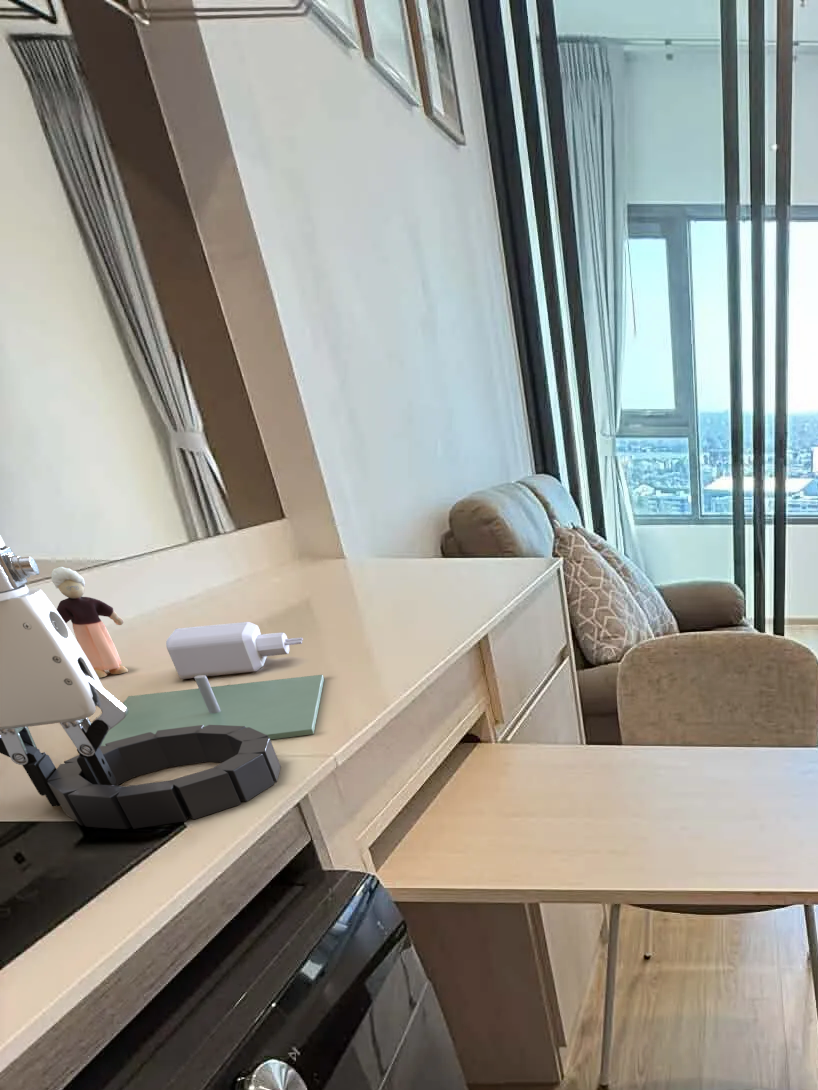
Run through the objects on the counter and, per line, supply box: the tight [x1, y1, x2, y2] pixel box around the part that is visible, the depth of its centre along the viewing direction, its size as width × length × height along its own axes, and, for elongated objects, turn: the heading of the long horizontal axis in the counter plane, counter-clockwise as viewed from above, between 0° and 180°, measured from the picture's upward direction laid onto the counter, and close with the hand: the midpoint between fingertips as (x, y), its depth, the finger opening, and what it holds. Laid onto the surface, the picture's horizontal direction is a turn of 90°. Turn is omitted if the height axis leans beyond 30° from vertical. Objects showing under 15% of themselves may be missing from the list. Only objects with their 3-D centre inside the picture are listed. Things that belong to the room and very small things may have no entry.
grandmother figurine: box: [50, 566, 129, 679], centre depth 108 cm, size 8×4×13 cm, turn 148°
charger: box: [165, 621, 304, 680], centre depth 112 cm, size 5×9×15 cm
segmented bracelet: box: [48, 725, 282, 830], centre depth 80 cm, size 18×18×3 cm
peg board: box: [100, 674, 325, 746], centre depth 96 cm, size 22×22×4 cm
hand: (83, 795), depth 78 cm, fingers open, 3 cm apart
